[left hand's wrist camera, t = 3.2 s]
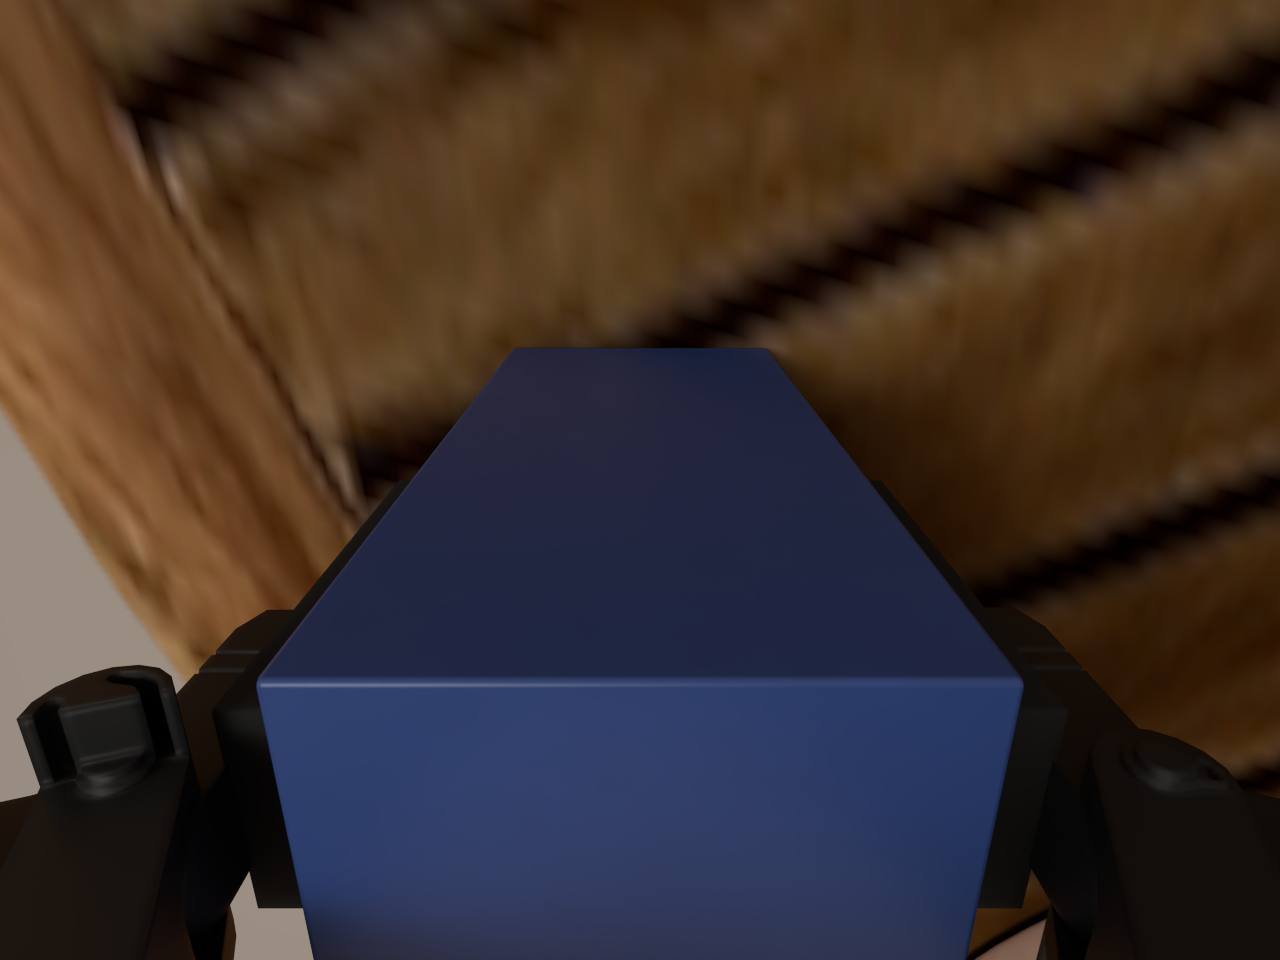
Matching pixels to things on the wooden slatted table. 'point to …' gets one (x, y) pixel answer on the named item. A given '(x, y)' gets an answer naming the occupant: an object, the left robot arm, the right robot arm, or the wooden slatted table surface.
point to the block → (640, 690)
